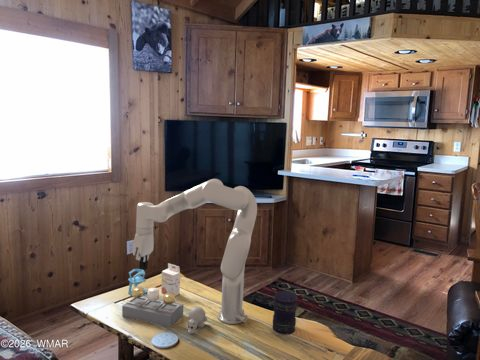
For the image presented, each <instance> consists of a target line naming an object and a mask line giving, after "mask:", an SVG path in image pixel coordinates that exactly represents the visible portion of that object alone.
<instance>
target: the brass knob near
mask: <svg viewBox="0 0 480 360" xmlns="http://www.w3.org/2000/svg"><path fill="white" fill-rule="evenodd" d="M162 298H163V299H162V300H163V302H164V304H173V303H175V302H176V296H175V294H174V293H166V294H164V293H163V297H162Z"/></svg>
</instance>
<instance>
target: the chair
mask: <svg viewBox="0 0 480 360" xmlns="http://www.w3.org/2000/svg"><path fill="white" fill-rule="evenodd" d="M134 272H137V273H136V274H135V275H133V276H132V274H133V273H134ZM128 275H129V278H128V279H127V280H128V282H129V286H128V293H127V294H128V295H129V294H130V296H132V289H133V288H134V287H142V286H141V285H140V284H142V283H144V282H145V283H146V281H147V279H146V278H145V275H146V271H145V270H141V269H139V268H133V269H132V270H130V271H129V272H128ZM133 285H134V286H133ZM139 285H140V286H139ZM145 294H148V289H147V290H146V289H145V288H144V295H145Z"/></svg>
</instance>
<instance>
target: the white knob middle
mask: <svg viewBox="0 0 480 360" xmlns="http://www.w3.org/2000/svg"><path fill="white" fill-rule="evenodd" d="M147 291H148V293H147V297H148V300H149V301H156V300H158V299H160V288H158V287H150V288H148V289H147Z"/></svg>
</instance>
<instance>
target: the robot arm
mask: <svg viewBox="0 0 480 360" xmlns="http://www.w3.org/2000/svg"><path fill="white" fill-rule="evenodd" d="M207 203H212V204H215V205H217V206H221V207H223V208H226V209H229V210H234V211H237V212H236V213H237V214H236V216H235V220H234V224H233V227H232V231H231V233H230V234H229V237H228V240H227V241H226V242H227V243H226V245H225V250H224V252H223V253H224V254H223V256H222V260H221V264H220V271H221V273H222V280H221V281H222V284H221V308H220V311H219V312H217V319H218V320H219V321H220V322H222V323H223V324H227V325H237V324H240V323H246V321H247V319H248V317H249V316H248V314H245V309H244V308H243V303H244V302H243V301H244V283H245V269H246V268H245V265H246V261H247V259H248V255H249V251H250V248H251V242H252V235H253V230H254V227H255V223H256V219H257V214H258V203H257V200H256V198H255V195H254V194H253V192H251V190H250V189H249V188H247V187H245V186H242V185H238V186H235V187H234V188H232V187H229V186H227V185H224V183H223V182H222V180H220V179H218V178H212V179H209V180H207V181H204V182H202V183H200V184H198V185H196V186H193V187H192V188H190V189H186V190H185V191H183V192H181V193H179V194H177V195H175V196H173V197H171V198H168V199H166V200H164V201H162V202H159V204H156V205H155V204H154V203H152V202H149V201H143V202H138V204H137V205H136V219H135V221H136V222H135V225H136V226H135V235H134V239H133V247H132V255H133V256H135V260H136V261H138V262H139V268H138V269H141V270H144V271H146V270H147V269H148V261H149V258H150V255H151V254H152V252H154V246H155V243H154V240H155V238H154V223H155V222H156V223H164V222H166V221H167V220H168V219H169V218H170V217H173V216H174V215H176V214H178V213H180V212H183V211H185V210H188V209H189V210H192V209H196V208H198V207H200V206H202V205H206V204H207Z"/></svg>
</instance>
